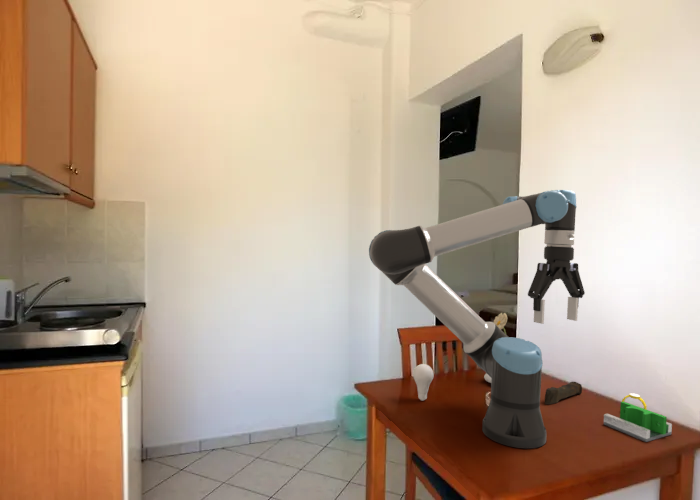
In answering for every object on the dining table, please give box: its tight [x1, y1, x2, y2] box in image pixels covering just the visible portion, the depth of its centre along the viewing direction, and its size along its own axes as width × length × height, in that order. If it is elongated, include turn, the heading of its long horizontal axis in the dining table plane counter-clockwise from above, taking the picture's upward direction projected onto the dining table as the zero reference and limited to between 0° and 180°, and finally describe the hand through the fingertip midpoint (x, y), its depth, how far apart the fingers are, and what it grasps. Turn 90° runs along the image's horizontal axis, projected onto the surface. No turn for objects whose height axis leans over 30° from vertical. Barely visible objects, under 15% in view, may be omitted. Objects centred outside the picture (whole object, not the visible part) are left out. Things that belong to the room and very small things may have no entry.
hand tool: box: [544, 381, 583, 405], centre depth 138 cm, size 19×4×5 cm, turn 124°
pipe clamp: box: [619, 401, 668, 435], centre depth 116 cm, size 11×4×5 cm, turn 26°
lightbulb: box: [412, 363, 435, 401], centre depth 132 cm, size 6×6×11 cm
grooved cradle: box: [603, 413, 673, 443], centre depth 116 cm, size 11×11×3 cm
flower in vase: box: [483, 312, 508, 384], centre depth 149 cm, size 13×11×25 cm
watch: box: [621, 392, 648, 410], centre depth 126 cm, size 6×3×6 cm, turn 42°
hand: (555, 321), depth 123 cm, fingers open, 13 cm apart
